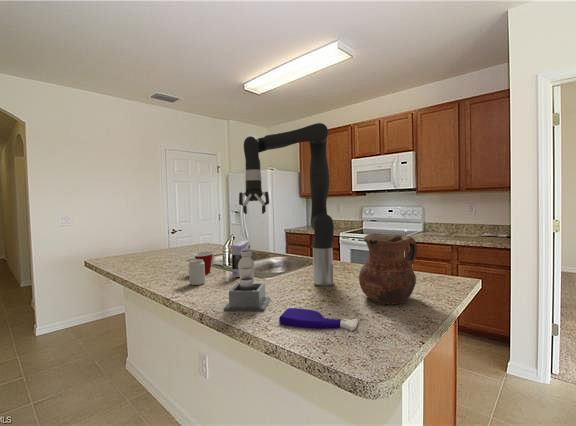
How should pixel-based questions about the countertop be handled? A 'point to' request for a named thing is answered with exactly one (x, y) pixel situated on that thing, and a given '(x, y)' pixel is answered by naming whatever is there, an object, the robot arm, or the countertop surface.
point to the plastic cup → (205, 259)
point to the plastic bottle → (246, 271)
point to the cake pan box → (238, 255)
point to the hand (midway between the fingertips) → (254, 213)
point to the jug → (388, 268)
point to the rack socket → (247, 299)
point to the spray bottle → (313, 320)
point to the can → (197, 272)
